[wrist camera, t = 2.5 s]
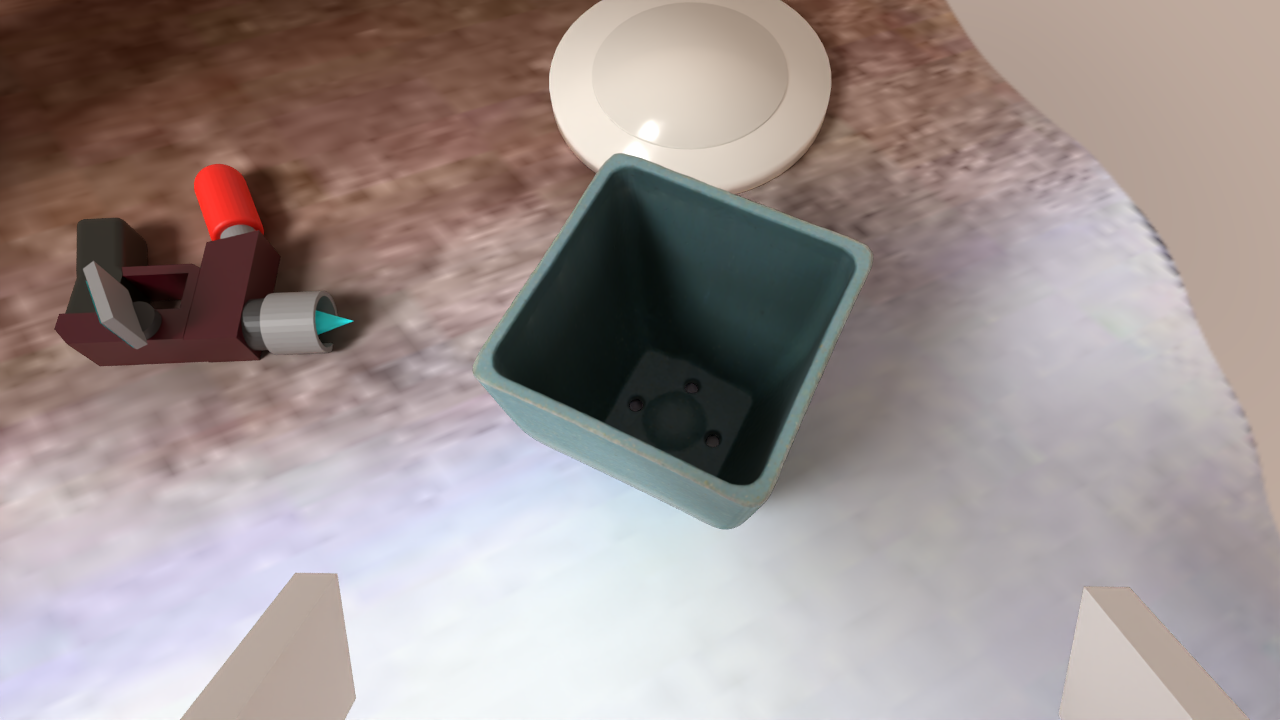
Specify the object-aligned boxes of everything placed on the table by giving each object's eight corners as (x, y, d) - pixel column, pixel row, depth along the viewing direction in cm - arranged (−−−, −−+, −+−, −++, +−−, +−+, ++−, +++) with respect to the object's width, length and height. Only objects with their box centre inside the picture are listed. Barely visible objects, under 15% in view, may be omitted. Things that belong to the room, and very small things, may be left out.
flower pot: (827, 376, 31) (881, 244, 23) (736, 582, 28) (762, 513, 20) (626, 292, 33) (612, 144, 25) (519, 475, 30) (463, 373, 22)
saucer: (497, 129, 37) (492, 111, 36) (642, -38, 42) (641, -58, 41) (746, 245, 34) (749, 229, 33) (872, 50, 39) (878, 31, 38)
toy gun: (359, 372, 32) (311, 313, 28) (66, 385, 33) (-27, 329, 28) (385, 180, 37) (347, 103, 32) (126, 193, 37) (52, 118, 32)
